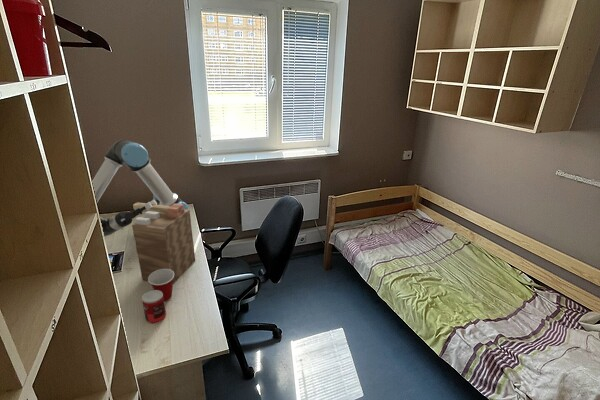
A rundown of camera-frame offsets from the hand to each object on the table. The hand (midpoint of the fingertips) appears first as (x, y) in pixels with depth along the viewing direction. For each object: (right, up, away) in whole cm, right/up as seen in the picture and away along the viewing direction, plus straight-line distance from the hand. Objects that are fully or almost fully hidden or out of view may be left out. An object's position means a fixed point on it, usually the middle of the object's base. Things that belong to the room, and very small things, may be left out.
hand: (152, 203), depth 161 cm
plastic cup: (+11, -43, -13) cm, 46 cm away
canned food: (+12, -47, -24) cm, 55 cm away
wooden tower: (+6, -34, +7) cm, 35 cm away
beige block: (+2, -4, +1) cm, 5 cm away
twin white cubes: (+1, -8, -8) cm, 11 cm away
